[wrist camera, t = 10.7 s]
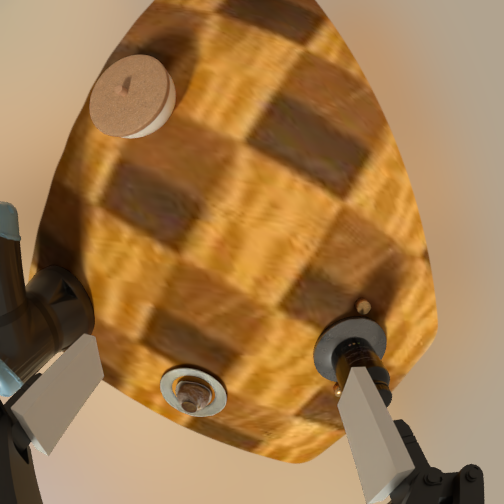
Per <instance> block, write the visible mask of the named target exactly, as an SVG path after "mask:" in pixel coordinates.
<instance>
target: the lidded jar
mask: <svg viewBox="0 0 504 504" xmlns="http://www.w3.org/2000/svg"><path fill="white" fill-rule="evenodd" d="M175 101H176V90H175V85H174V83H173V80H172V78H171V76H170V75H169V73H168V72H167V70H166V69H165V67H164V66H163V64H162V63H161V62H160V61H159V60H157V59H156V58H154V57H151V56H149V55H132V56H128V57H125V58H123V59H121V60H119V61H117V62H116V63H114V64H113V65H111V66H110V67H109V68H108V69H107V70H106V71H105V72H104V73H103V74H102V75H101V77H100V78H99V79H98V81H97V83H96V84H95V86H94V89H93V91H92V94H91V98H90V106H89V108H90V115H91V119H92V121H93V123H94V125H95V126H96V128H97V129H99V130H100V131H101V132H103V133H104V134H107V135H110V136H115V137H122V138H138V137H143V136H146V135H149V134H151V133H153V132H155V131H156V130H158V129H159V128H160V127H161V126H162V125H164V124H165V122H166V121H167V120H168V119H169V117H170V115H171V114H172V111H173V109H174V106H175Z"/></svg>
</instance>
